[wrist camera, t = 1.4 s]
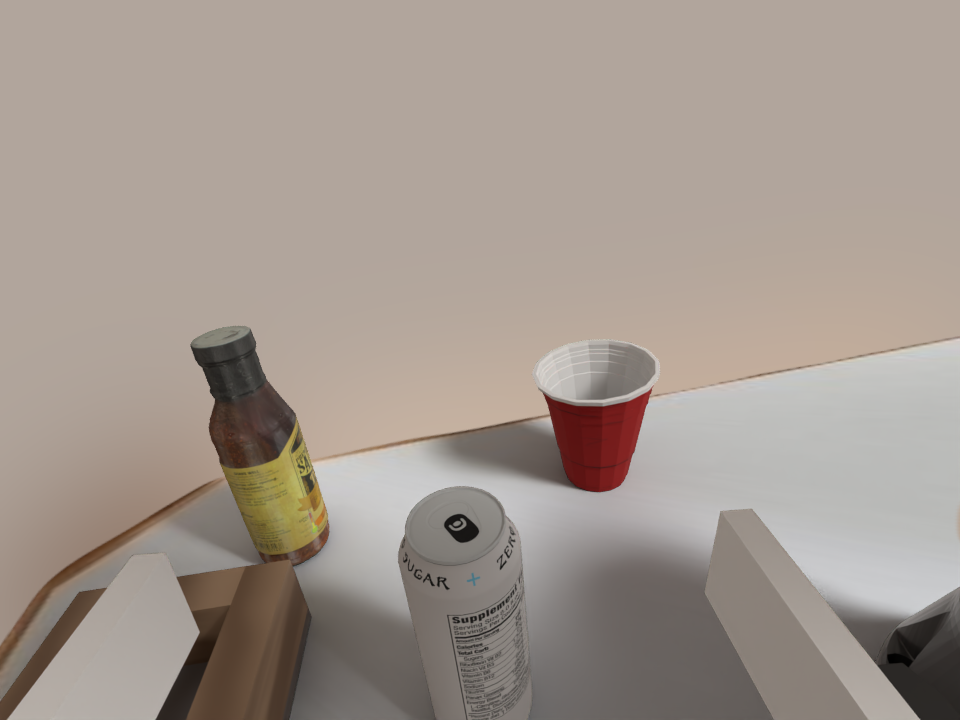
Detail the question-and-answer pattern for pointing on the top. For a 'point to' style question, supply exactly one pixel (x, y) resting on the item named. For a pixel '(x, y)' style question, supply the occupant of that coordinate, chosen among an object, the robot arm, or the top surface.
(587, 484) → the plastic cup
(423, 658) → the energy drink can
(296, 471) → the sauce bottle
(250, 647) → the well block
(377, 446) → the top surface
